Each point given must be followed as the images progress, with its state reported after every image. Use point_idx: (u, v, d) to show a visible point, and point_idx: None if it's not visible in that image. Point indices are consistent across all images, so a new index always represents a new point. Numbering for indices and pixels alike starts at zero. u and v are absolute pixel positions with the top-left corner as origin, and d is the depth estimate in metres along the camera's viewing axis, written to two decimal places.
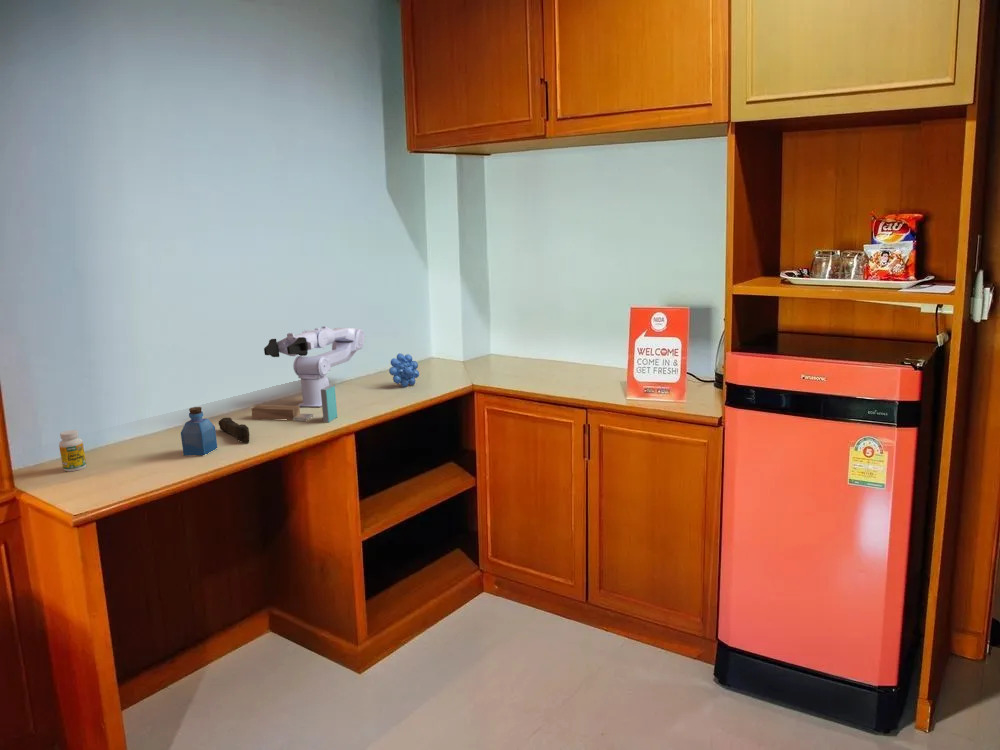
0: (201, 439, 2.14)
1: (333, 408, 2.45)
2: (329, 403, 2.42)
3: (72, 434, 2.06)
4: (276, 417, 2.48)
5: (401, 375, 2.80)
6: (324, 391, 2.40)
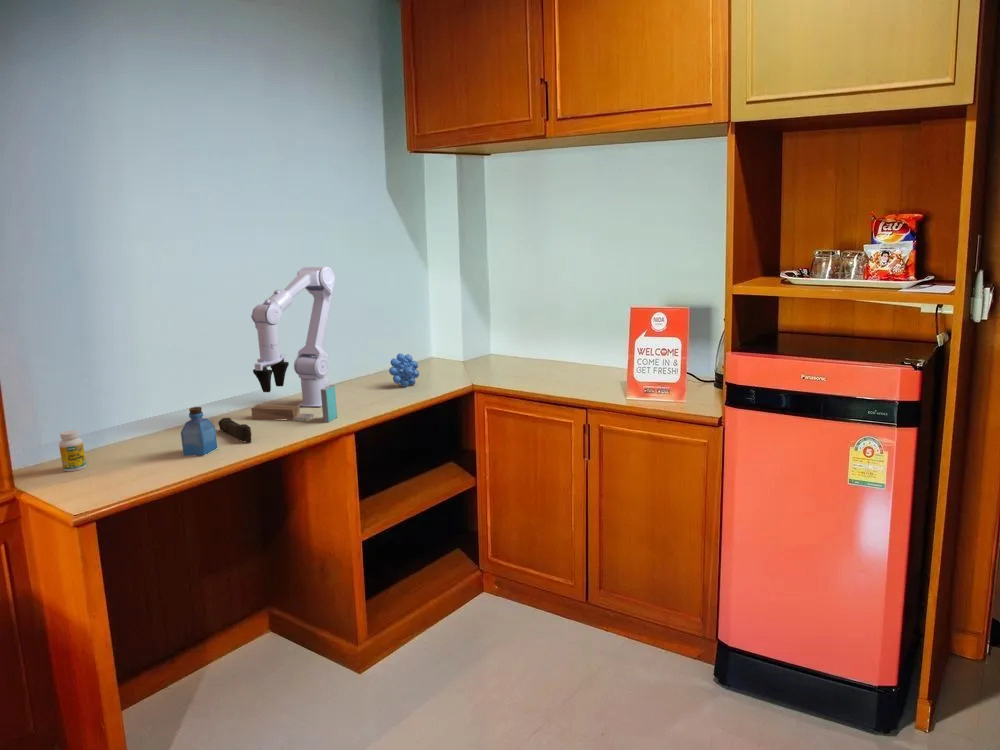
0: (201, 439, 2.14)
1: (333, 408, 2.45)
2: (329, 403, 2.42)
3: (72, 434, 2.06)
4: (276, 417, 2.48)
5: (401, 375, 2.80)
6: (324, 391, 2.40)
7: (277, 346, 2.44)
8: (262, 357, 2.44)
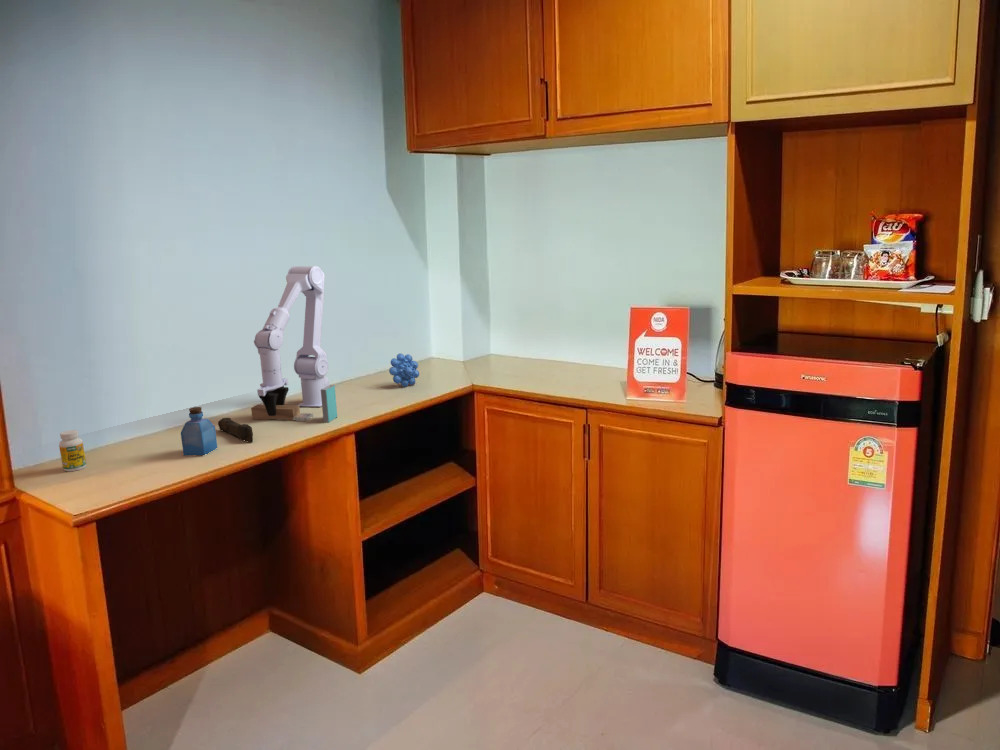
0: (201, 439, 2.14)
1: (333, 408, 2.45)
2: (329, 403, 2.42)
3: (72, 434, 2.06)
4: (276, 417, 2.48)
5: (401, 375, 2.80)
6: (324, 391, 2.40)
7: (280, 371, 2.46)
8: (265, 382, 2.45)
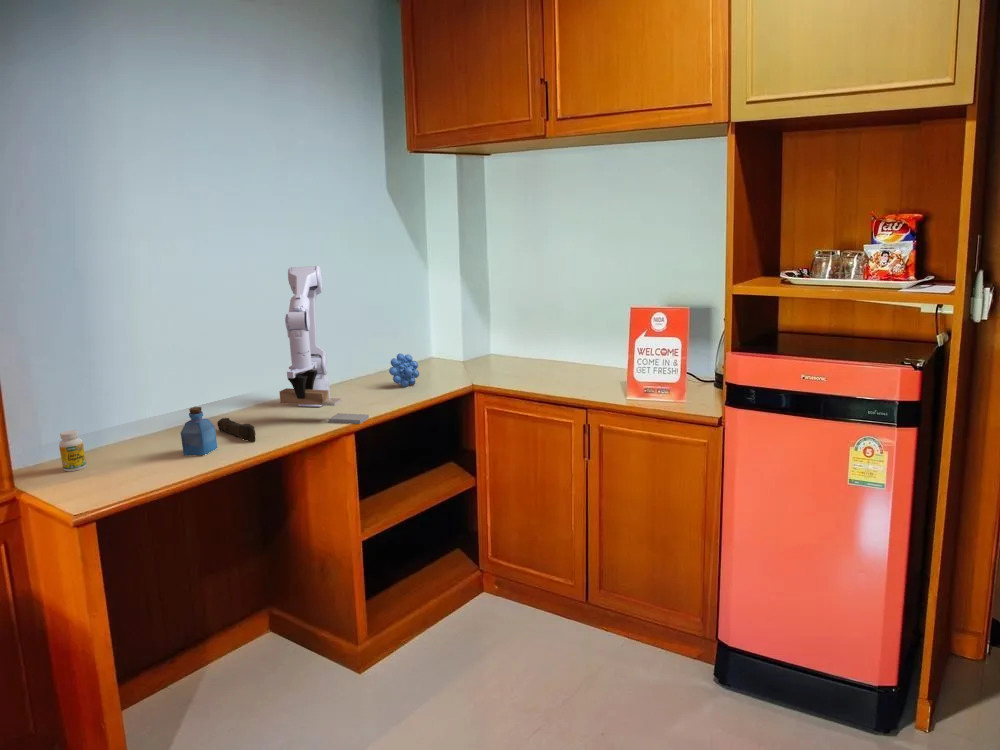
0: (201, 439, 2.14)
1: None
2: None
3: (72, 434, 2.06)
4: (305, 401, 2.44)
5: (401, 375, 2.80)
6: (358, 423, 2.40)
7: (309, 353, 2.42)
8: (294, 364, 2.41)
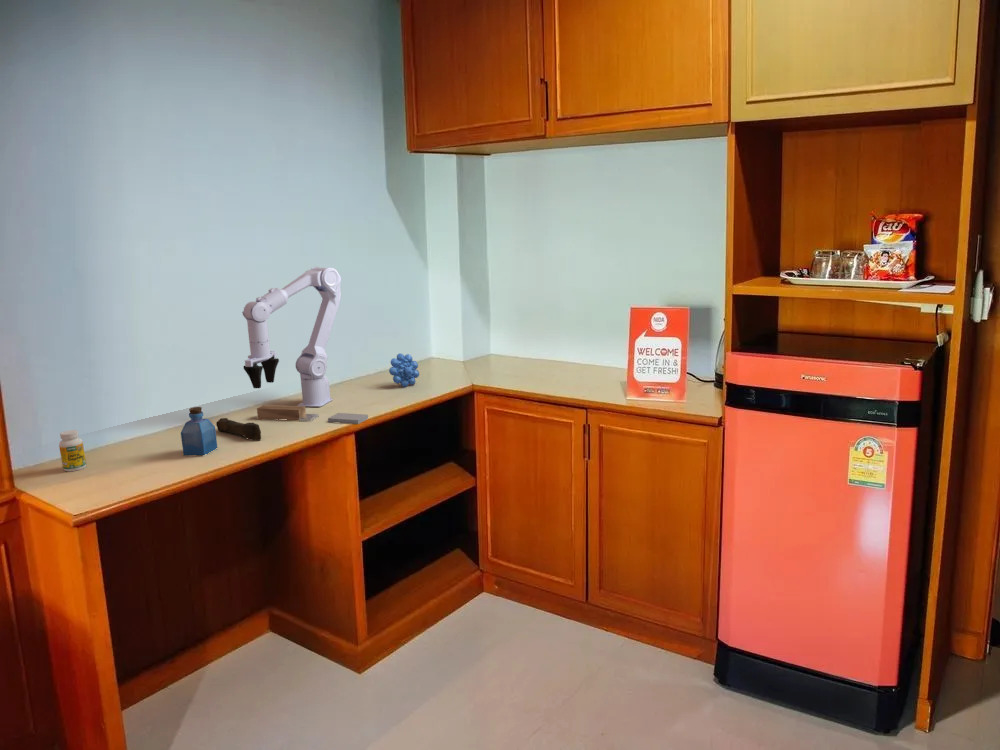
0: (201, 439, 2.14)
1: None
2: None
3: (72, 434, 2.06)
4: (282, 417, 2.47)
5: (401, 375, 2.80)
6: (356, 423, 2.40)
7: (267, 343, 2.48)
8: (252, 354, 2.48)
